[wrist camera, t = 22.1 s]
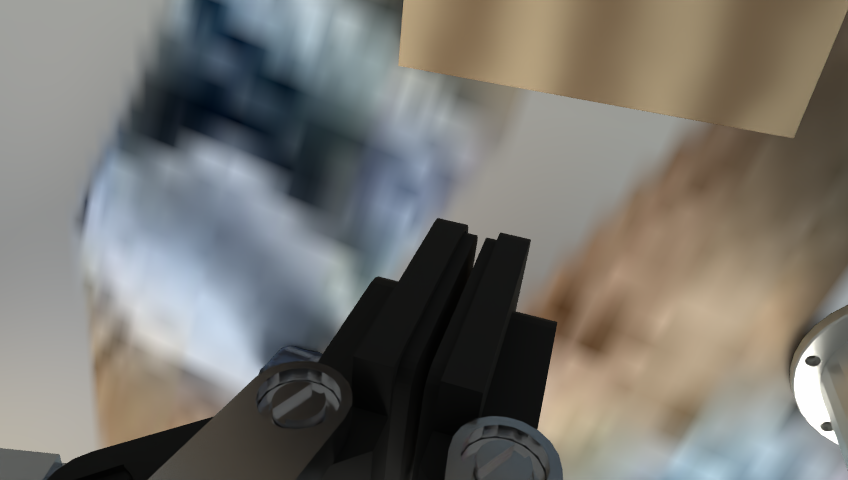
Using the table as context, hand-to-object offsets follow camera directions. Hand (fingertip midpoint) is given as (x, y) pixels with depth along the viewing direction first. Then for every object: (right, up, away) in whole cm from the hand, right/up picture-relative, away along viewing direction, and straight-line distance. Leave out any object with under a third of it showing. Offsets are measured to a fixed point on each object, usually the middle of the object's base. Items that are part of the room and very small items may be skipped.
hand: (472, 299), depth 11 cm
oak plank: (+9, +13, +22) cm, 28 cm away
